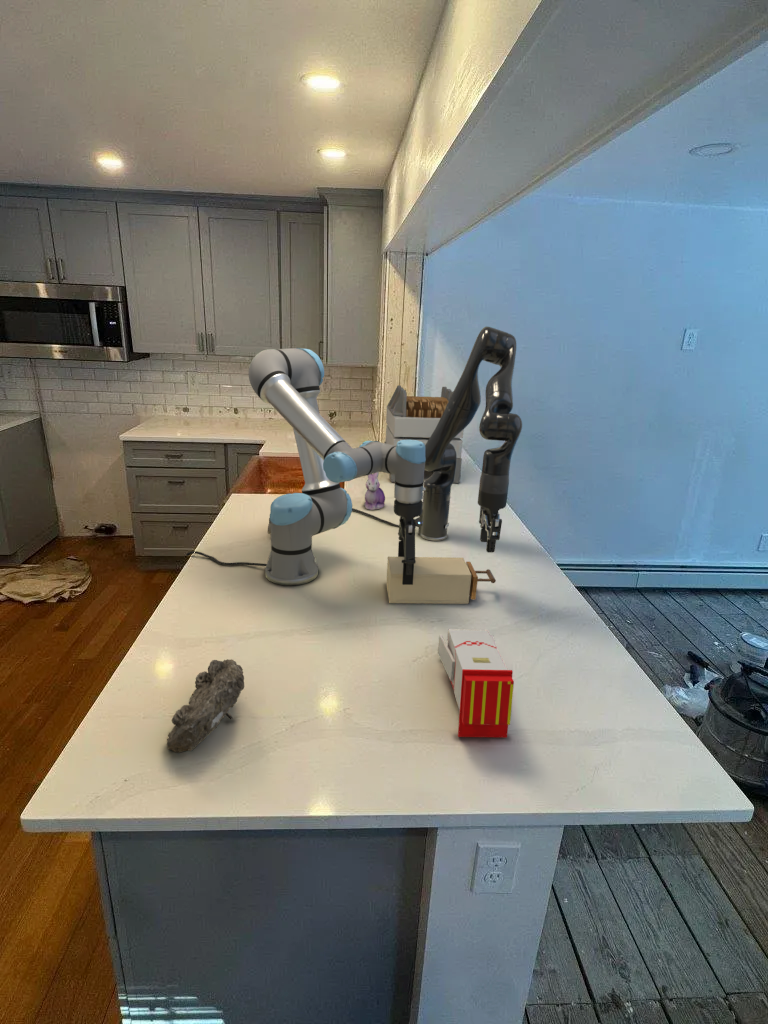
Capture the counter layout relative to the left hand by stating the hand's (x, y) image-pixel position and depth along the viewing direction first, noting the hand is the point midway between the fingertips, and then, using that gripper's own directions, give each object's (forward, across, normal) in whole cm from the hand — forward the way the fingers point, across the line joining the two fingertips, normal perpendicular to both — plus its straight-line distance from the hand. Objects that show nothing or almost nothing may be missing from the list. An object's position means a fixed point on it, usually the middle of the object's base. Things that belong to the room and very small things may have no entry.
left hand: (404, 573), depth 156 cm
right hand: (-8, 0, -22) cm, 24 cm away
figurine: (+6, +73, +5) cm, 73 cm away
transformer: (+6, +123, -20) cm, 125 cm away
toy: (+7, -43, -10) cm, 44 cm away
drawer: (+6, 0, -12) cm, 13 cm away
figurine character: (+6, +44, +39) cm, 59 cm away
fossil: (+7, -50, +42) cm, 65 cm away
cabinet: (+7, 0, -6) cm, 9 cm away
